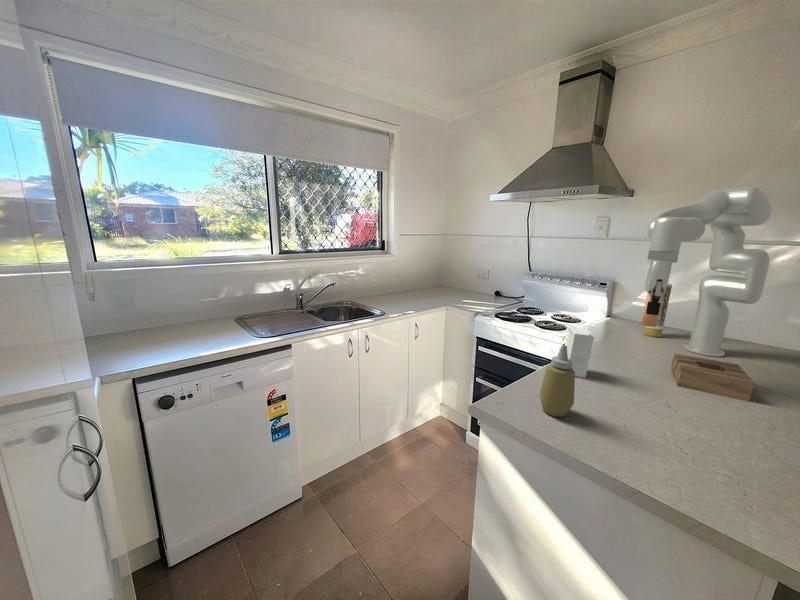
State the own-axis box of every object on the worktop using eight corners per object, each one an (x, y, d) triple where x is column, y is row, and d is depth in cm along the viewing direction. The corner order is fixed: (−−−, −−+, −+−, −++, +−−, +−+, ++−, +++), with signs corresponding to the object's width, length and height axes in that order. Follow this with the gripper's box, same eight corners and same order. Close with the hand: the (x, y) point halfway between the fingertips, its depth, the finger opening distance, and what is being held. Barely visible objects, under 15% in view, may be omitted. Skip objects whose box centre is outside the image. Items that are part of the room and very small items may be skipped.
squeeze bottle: (570, 424, 79) (581, 354, 75) (535, 413, 83) (544, 346, 80) (573, 409, 86) (583, 344, 82) (540, 400, 90) (548, 338, 86)
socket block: (670, 369, 115) (674, 353, 114) (732, 381, 107) (737, 364, 105) (677, 385, 102) (681, 367, 101) (749, 401, 93) (754, 382, 92)
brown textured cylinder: (664, 338, 151) (675, 285, 146) (647, 336, 152) (658, 284, 147) (656, 334, 157) (666, 283, 152) (640, 332, 159) (650, 282, 153)
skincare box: (562, 366, 114) (568, 325, 111) (581, 368, 113) (588, 327, 109) (566, 375, 106) (573, 332, 103) (587, 378, 105) (594, 334, 102)
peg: (641, 322, 110) (649, 282, 108) (655, 324, 108) (664, 283, 105) (641, 325, 107) (649, 283, 104) (657, 327, 105) (665, 284, 102)
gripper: (646, 255, 112) (636, 306, 116) (649, 257, 98) (638, 316, 102) (674, 256, 108) (663, 310, 112) (682, 259, 94) (669, 320, 98)
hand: (651, 312), depth 107 cm, fingers closed on peg, 4 cm apart
